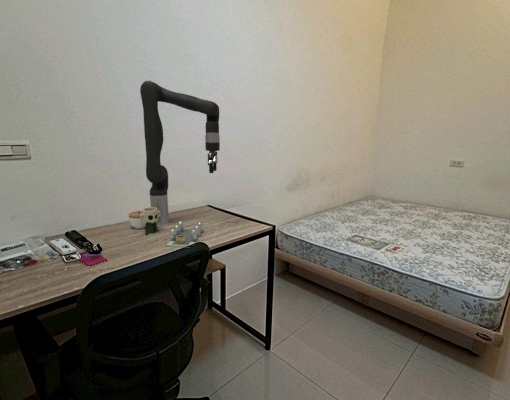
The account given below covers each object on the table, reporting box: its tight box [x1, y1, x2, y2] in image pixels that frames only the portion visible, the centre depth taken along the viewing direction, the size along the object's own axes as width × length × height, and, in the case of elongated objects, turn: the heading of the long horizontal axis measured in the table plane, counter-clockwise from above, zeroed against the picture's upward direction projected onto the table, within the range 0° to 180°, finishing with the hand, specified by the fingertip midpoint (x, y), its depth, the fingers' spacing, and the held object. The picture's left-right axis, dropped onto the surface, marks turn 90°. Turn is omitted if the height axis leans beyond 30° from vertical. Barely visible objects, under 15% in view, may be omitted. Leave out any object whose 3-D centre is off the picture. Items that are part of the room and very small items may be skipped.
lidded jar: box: [128, 210, 146, 230], centre depth 159 cm, size 11×11×9 cm
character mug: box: [140, 206, 160, 235], centre depth 150 cm, size 11×7×13 cm, turn 138°
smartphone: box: [78, 250, 108, 267], centre depth 121 cm, size 8×1×15 cm
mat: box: [165, 228, 205, 248], centre depth 143 cm, size 12×24×2 cm, turn 177°
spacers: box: [169, 220, 204, 243], centre depth 144 cm, size 13×15×6 cm
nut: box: [176, 235, 185, 244], centre depth 136 cm, size 4×5×3 cm
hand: (213, 171), depth 159 cm, fingers open, 8 cm apart
